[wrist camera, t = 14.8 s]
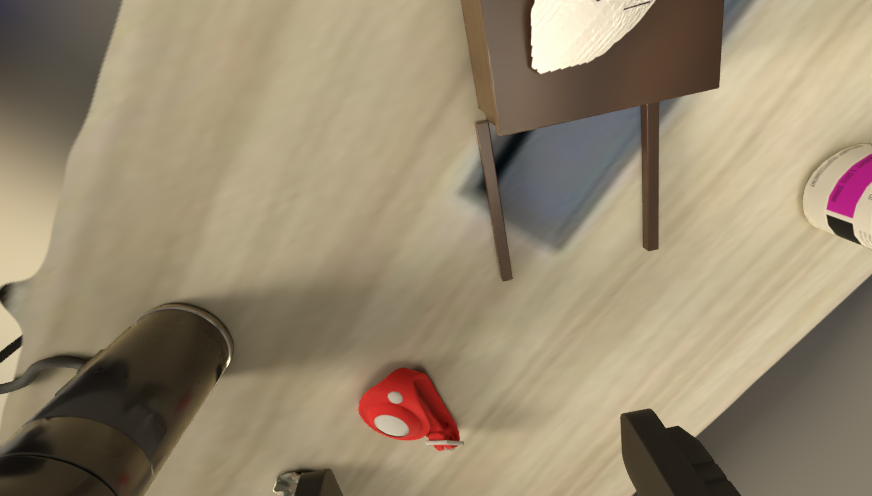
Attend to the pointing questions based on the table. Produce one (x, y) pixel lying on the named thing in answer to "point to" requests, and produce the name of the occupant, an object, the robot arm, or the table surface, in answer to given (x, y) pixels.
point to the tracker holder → (409, 410)
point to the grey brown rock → (287, 484)
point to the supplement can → (842, 195)
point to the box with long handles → (588, 84)
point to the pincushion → (579, 29)
